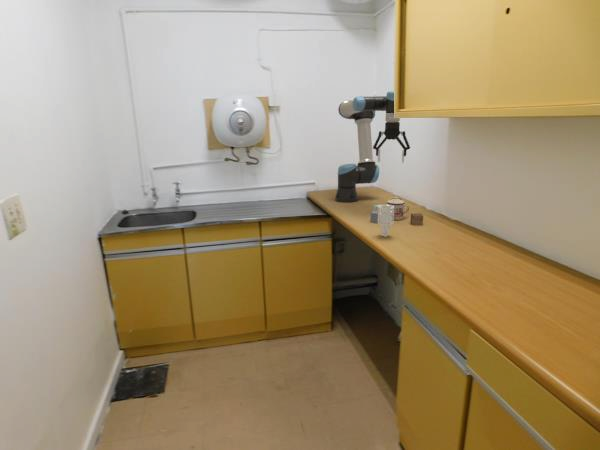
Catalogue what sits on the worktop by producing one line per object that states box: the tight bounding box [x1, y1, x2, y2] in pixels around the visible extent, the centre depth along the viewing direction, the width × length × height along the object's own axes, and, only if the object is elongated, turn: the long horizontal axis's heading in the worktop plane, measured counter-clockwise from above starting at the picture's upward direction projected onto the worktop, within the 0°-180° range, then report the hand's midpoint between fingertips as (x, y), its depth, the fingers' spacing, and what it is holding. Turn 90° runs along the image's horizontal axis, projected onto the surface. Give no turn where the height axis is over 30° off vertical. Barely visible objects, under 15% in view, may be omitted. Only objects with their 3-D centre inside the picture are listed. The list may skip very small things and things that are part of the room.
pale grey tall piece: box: [377, 204, 395, 238], centre depth 169 cm, size 7×7×15 cm
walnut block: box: [409, 212, 424, 226], centre depth 189 cm, size 5×5×5 cm
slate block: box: [369, 210, 378, 224], centre depth 195 cm, size 5×5×5 cm
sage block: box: [372, 204, 386, 212], centre depth 209 cm, size 5×5×5 cm
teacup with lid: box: [386, 196, 410, 221], centre depth 200 cm, size 12×9×12 cm
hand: (390, 162), depth 206 cm, fingers open, 12 cm apart
